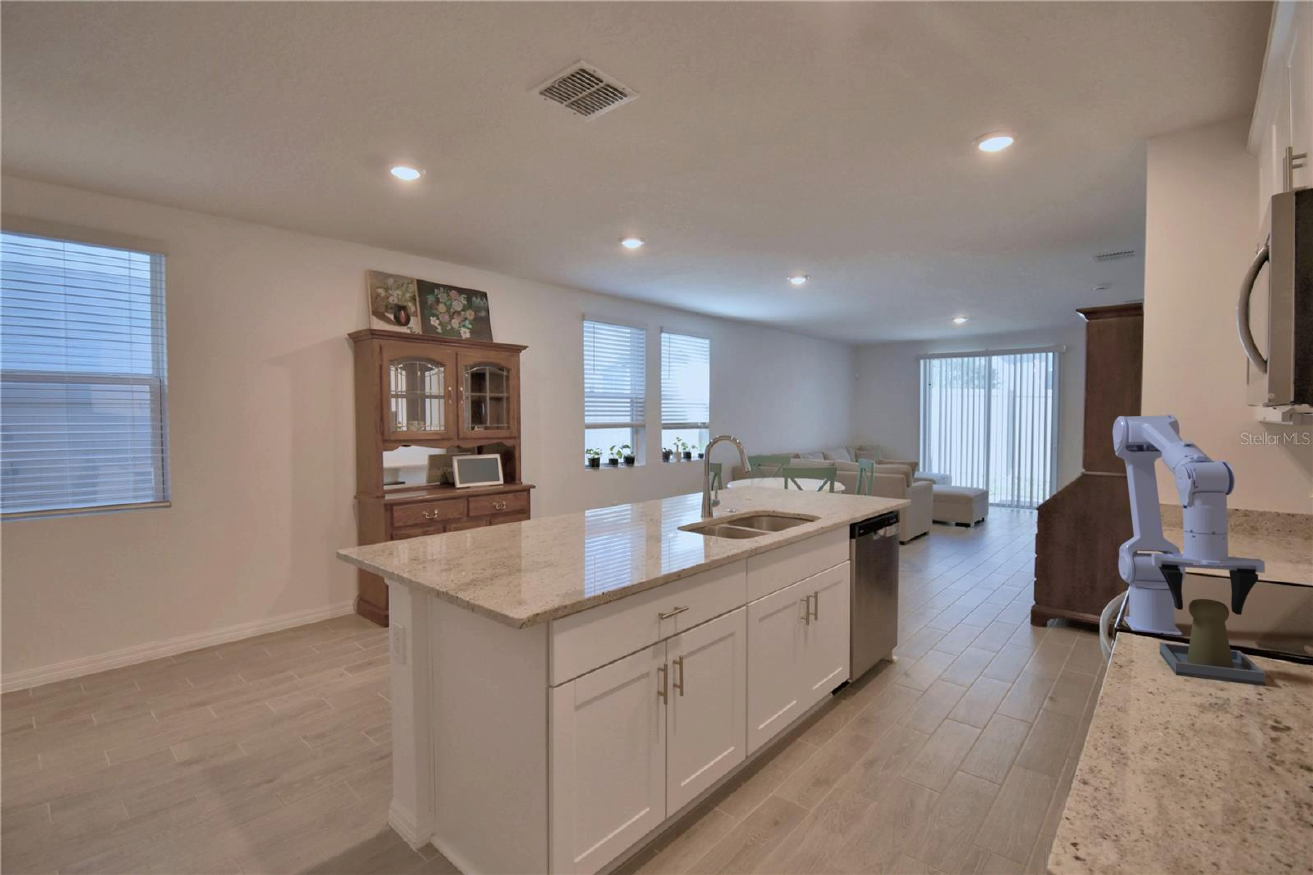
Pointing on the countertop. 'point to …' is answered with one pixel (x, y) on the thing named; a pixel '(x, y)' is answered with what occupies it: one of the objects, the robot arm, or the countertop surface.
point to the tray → (1240, 673)
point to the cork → (1209, 634)
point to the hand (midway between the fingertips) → (1207, 610)
